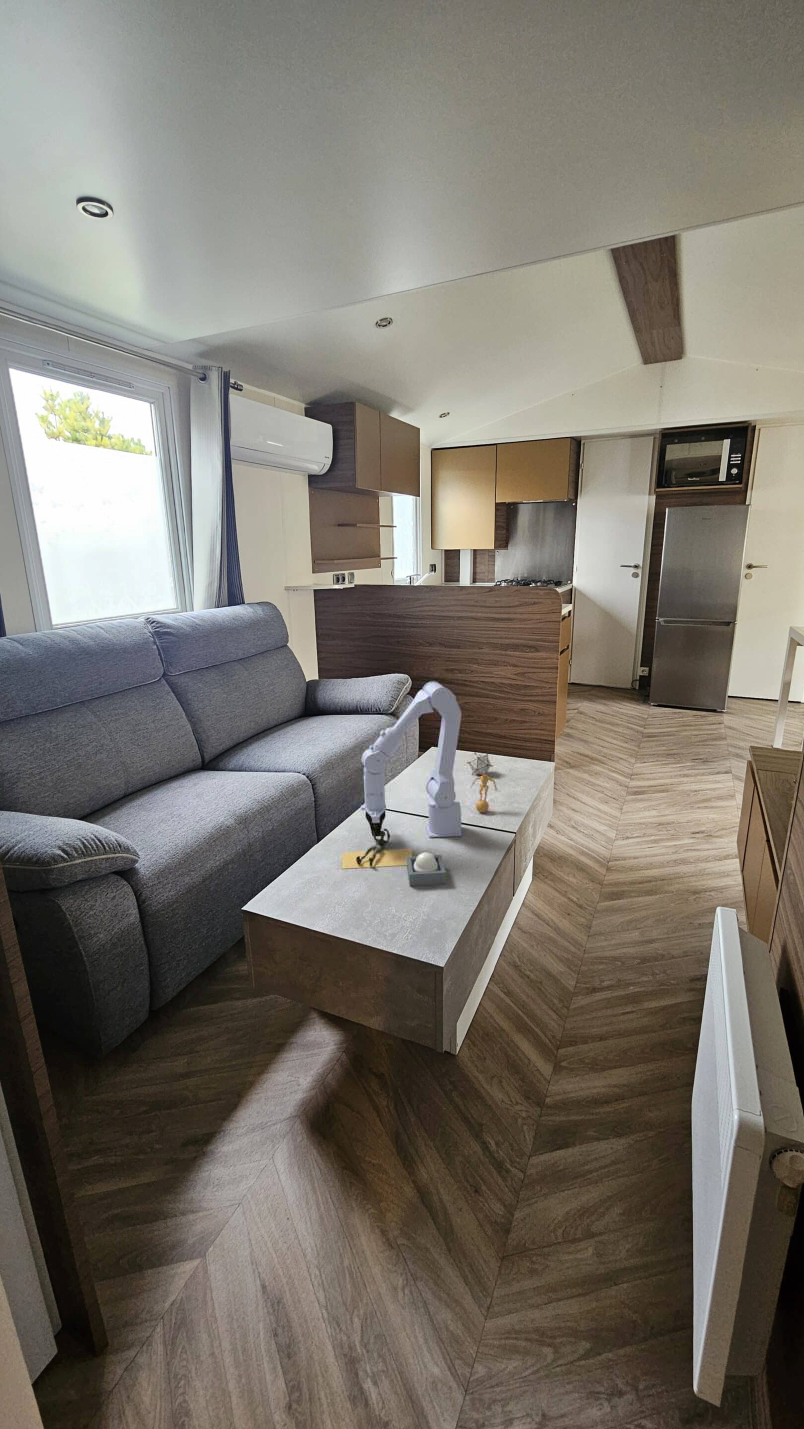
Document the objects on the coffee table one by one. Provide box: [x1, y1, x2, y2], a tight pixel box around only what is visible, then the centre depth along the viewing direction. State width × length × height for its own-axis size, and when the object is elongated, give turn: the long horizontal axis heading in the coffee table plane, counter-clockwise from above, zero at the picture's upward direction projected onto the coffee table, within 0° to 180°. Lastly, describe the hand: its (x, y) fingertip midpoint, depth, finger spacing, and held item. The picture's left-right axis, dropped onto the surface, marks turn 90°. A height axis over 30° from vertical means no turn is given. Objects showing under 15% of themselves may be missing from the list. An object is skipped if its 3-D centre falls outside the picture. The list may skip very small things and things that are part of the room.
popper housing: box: [406, 854, 447, 887], centre depth 156 cm, size 9×9×3 cm
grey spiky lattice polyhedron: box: [466, 752, 494, 776], centre depth 224 cm, size 9×8×10 cm
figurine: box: [470, 773, 498, 813], centre depth 193 cm, size 8×6×12 cm
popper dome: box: [414, 851, 438, 872], centre depth 155 cm, size 6×6×5 cm
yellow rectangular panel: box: [341, 848, 414, 870], centre depth 166 cm, size 19×9×1 cm, turn 94°
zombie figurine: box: [356, 825, 391, 868], centre depth 168 cm, size 5×7×15 cm
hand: (376, 835), depth 176 cm, fingers closed
